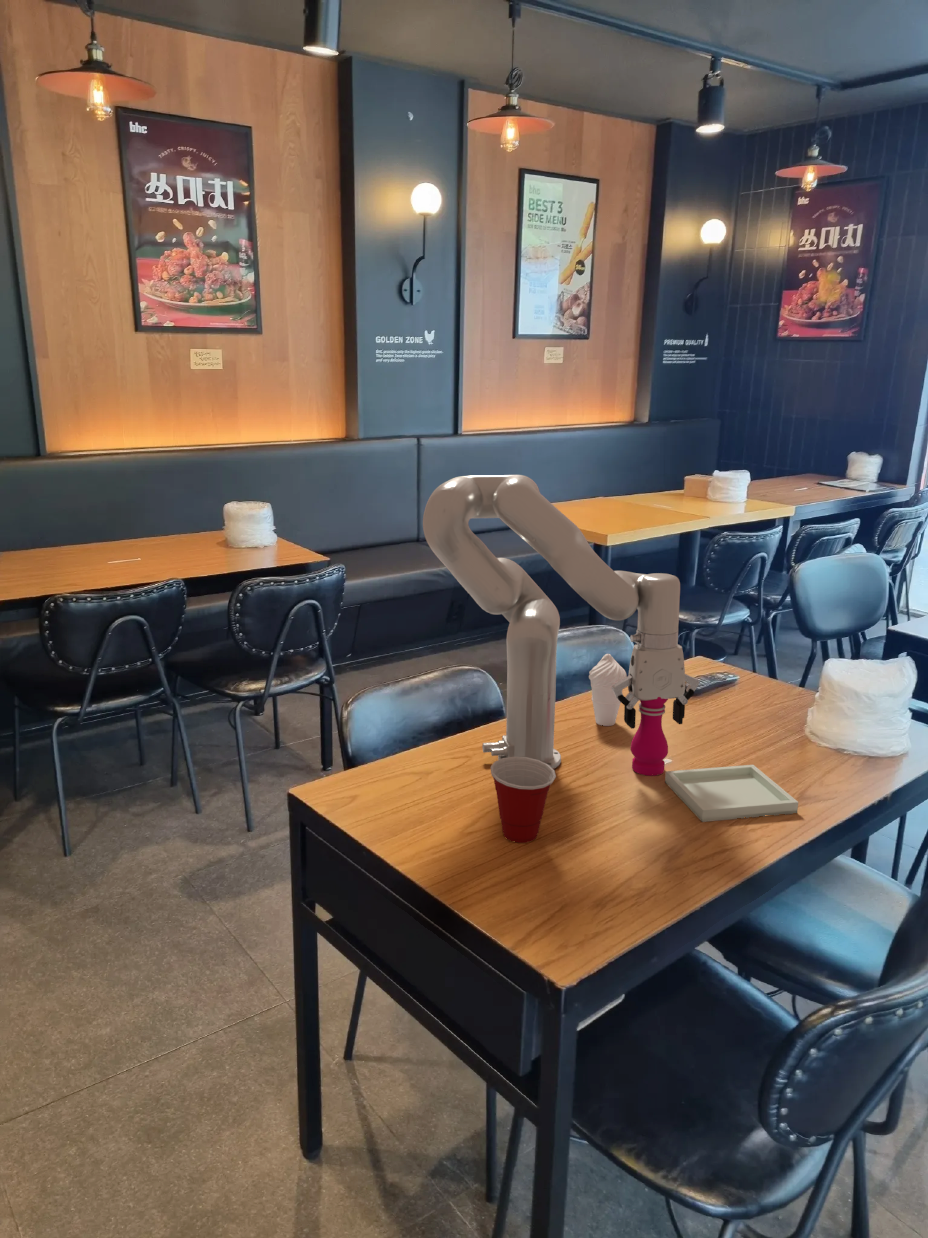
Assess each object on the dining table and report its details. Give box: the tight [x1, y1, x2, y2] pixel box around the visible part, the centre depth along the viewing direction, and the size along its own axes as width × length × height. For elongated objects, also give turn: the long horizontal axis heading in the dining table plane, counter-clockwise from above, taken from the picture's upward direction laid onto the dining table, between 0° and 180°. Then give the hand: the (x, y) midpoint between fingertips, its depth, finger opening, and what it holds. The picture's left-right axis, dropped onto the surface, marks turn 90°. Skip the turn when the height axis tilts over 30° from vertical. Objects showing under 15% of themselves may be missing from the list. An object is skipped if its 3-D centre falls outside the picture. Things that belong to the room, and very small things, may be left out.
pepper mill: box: [630, 697, 669, 777], centre depth 169 cm, size 7×7×20 cm
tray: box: [664, 764, 799, 823], centre depth 160 cm, size 18×16×2 cm
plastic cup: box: [490, 757, 557, 844], centre depth 145 cm, size 11×11×12 cm
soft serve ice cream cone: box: [588, 653, 628, 727], centre depth 194 cm, size 8×8×16 cm
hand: (654, 724), depth 169 cm, fingers open, 9 cm apart
